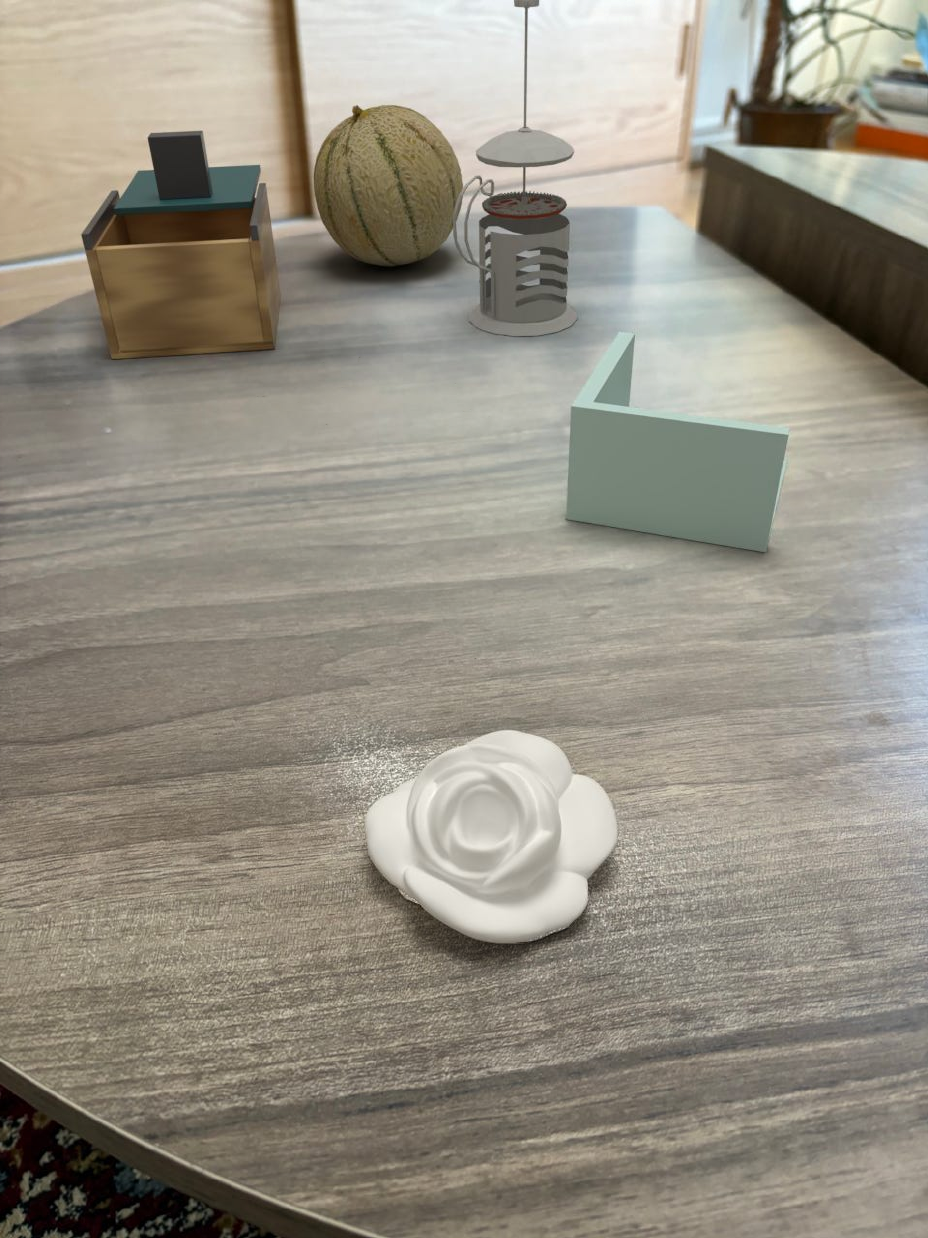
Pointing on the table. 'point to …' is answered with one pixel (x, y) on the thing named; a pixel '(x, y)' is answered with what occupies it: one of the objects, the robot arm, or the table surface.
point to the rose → (495, 837)
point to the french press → (521, 236)
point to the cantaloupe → (387, 185)
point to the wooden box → (185, 279)
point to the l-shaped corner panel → (669, 465)
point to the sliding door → (187, 179)
